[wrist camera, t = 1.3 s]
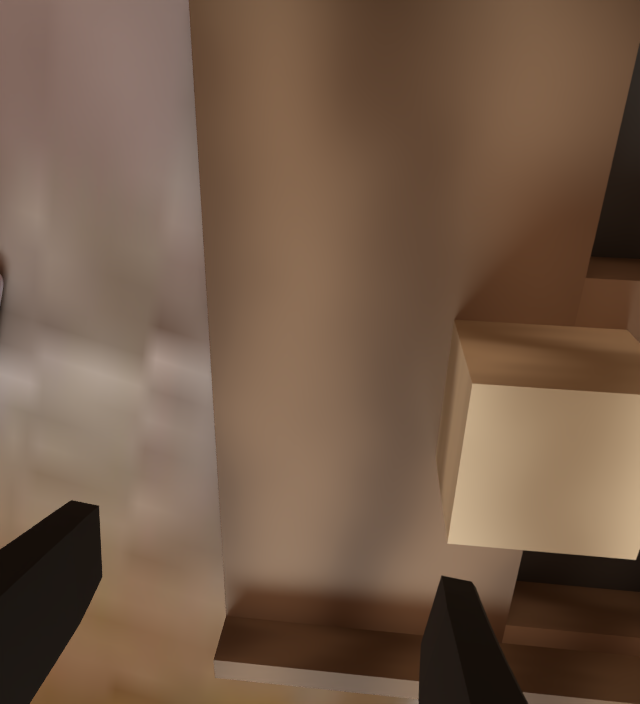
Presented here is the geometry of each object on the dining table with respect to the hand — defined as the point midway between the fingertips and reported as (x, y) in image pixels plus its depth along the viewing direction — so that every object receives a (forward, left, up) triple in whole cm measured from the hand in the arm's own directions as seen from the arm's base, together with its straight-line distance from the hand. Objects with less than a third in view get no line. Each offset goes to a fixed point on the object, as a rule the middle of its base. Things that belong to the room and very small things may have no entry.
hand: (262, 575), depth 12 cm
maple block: (+6, +3, -8) cm, 10 cm away
